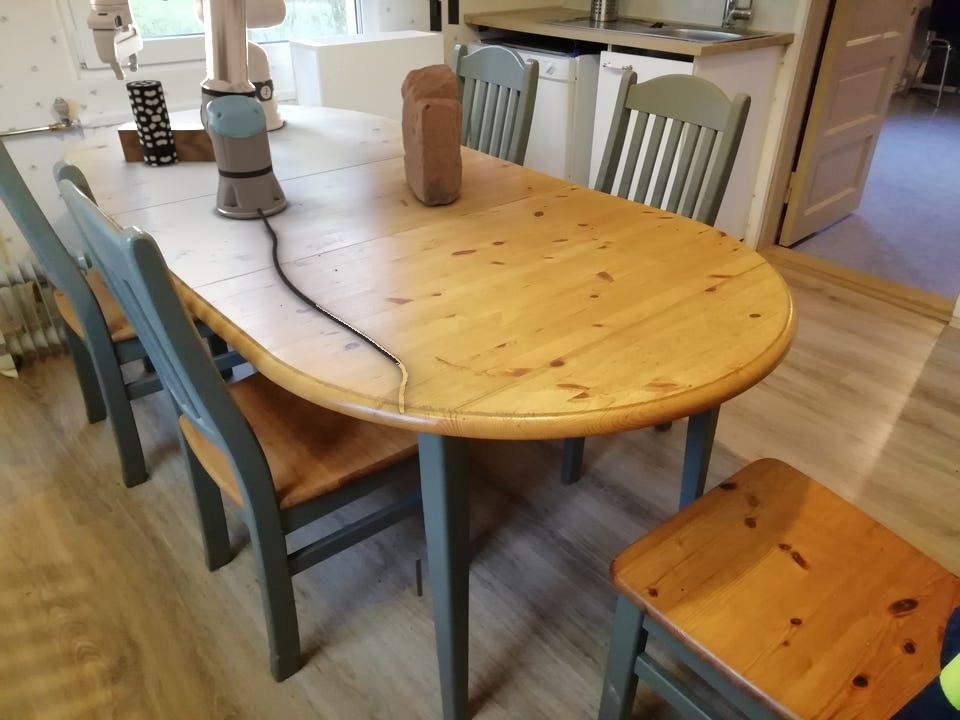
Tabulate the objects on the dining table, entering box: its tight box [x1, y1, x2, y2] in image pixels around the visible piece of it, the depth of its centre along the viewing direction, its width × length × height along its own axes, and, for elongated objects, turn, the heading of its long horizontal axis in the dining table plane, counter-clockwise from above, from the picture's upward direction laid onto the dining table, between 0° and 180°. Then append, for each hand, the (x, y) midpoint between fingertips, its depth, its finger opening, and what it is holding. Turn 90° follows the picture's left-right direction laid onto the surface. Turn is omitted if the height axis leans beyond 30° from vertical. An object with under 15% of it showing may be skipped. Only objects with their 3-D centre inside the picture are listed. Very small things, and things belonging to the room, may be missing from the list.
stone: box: [400, 63, 464, 206], centre depth 161 cm, size 22×11×28 cm, turn 18°
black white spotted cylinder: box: [125, 79, 178, 167], centre depth 181 cm, size 8×8×20 cm
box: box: [117, 123, 216, 163], centre depth 187 cm, size 24×6×8 cm, turn 93°
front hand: (445, 27), depth 170 cm, fingers open, 13 cm apart
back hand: (128, 75), depth 178 cm, fingers open, 8 cm apart
